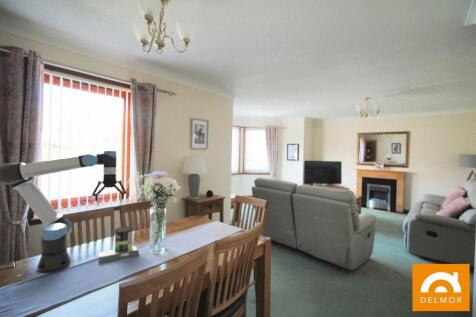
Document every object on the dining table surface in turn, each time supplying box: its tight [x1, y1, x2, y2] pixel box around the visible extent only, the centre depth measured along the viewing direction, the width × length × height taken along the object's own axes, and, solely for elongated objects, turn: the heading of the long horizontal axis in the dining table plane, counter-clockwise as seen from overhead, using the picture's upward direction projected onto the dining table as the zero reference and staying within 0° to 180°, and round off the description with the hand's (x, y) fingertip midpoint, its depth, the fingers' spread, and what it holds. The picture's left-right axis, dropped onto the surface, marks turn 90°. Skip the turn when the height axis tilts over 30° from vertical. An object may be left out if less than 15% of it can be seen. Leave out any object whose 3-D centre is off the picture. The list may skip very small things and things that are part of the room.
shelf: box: [98, 245, 140, 264], centre depth 152 cm, size 22×12×3 cm, turn 121°
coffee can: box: [114, 226, 133, 253], centre depth 154 cm, size 10×10×14 cm
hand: (109, 205), depth 160 cm, fingers open, 13 cm apart
